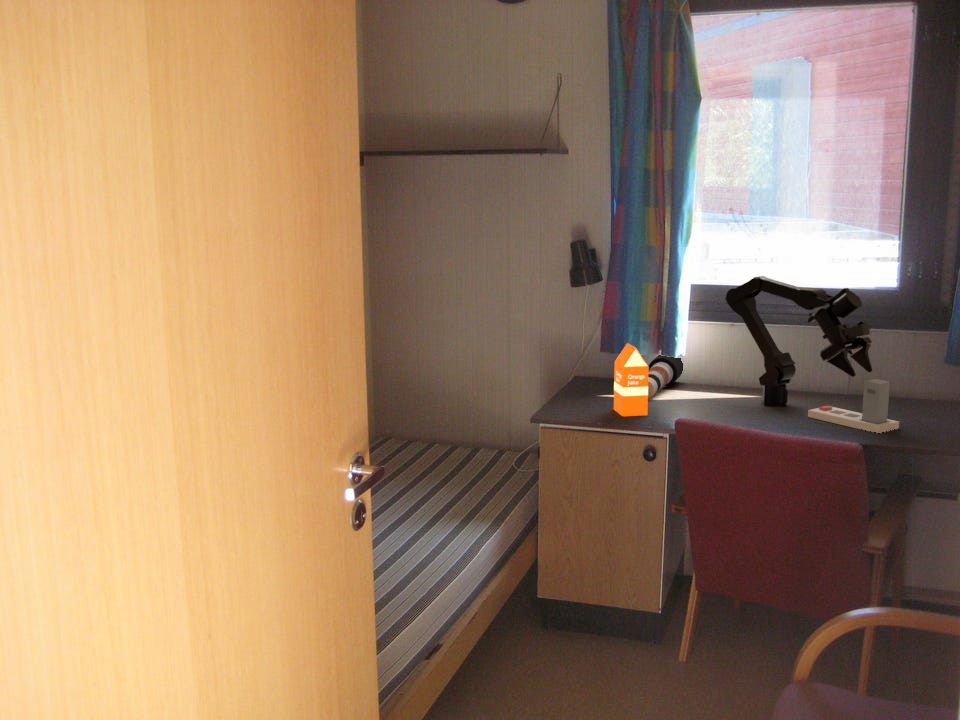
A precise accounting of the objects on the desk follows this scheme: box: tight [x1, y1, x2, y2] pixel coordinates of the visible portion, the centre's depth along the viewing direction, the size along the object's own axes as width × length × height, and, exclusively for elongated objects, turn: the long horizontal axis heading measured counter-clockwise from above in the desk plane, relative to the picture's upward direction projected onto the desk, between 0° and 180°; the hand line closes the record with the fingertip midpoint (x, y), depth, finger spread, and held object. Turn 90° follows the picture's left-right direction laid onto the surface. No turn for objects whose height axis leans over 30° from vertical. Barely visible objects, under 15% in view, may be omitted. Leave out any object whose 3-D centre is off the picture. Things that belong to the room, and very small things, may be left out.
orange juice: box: [613, 342, 649, 417], centre depth 270 cm, size 8×9×20 cm
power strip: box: [807, 405, 900, 434], centre depth 257 cm, size 22×9×3 cm, turn 33°
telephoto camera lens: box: [648, 354, 683, 399], centre depth 298 cm, size 10×34×10 cm, turn 153°
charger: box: [861, 378, 891, 424], centre depth 251 cm, size 5×5×13 cm
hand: (862, 373), depth 257 cm, fingers open, 9 cm apart
